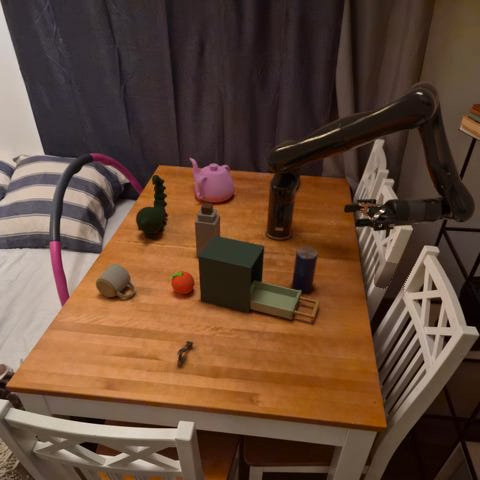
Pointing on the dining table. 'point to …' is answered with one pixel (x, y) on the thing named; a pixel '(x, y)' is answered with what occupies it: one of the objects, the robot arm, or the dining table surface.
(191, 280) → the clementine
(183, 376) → the dining table surface
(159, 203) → the toy figurine
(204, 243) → the perfume bottle
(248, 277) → the cubby
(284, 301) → the drawer
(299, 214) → the dining table surface
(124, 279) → the ceramic mug
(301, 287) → the navy can
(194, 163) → the teapot
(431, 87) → the robot arm
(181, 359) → the dark brown angled piece
